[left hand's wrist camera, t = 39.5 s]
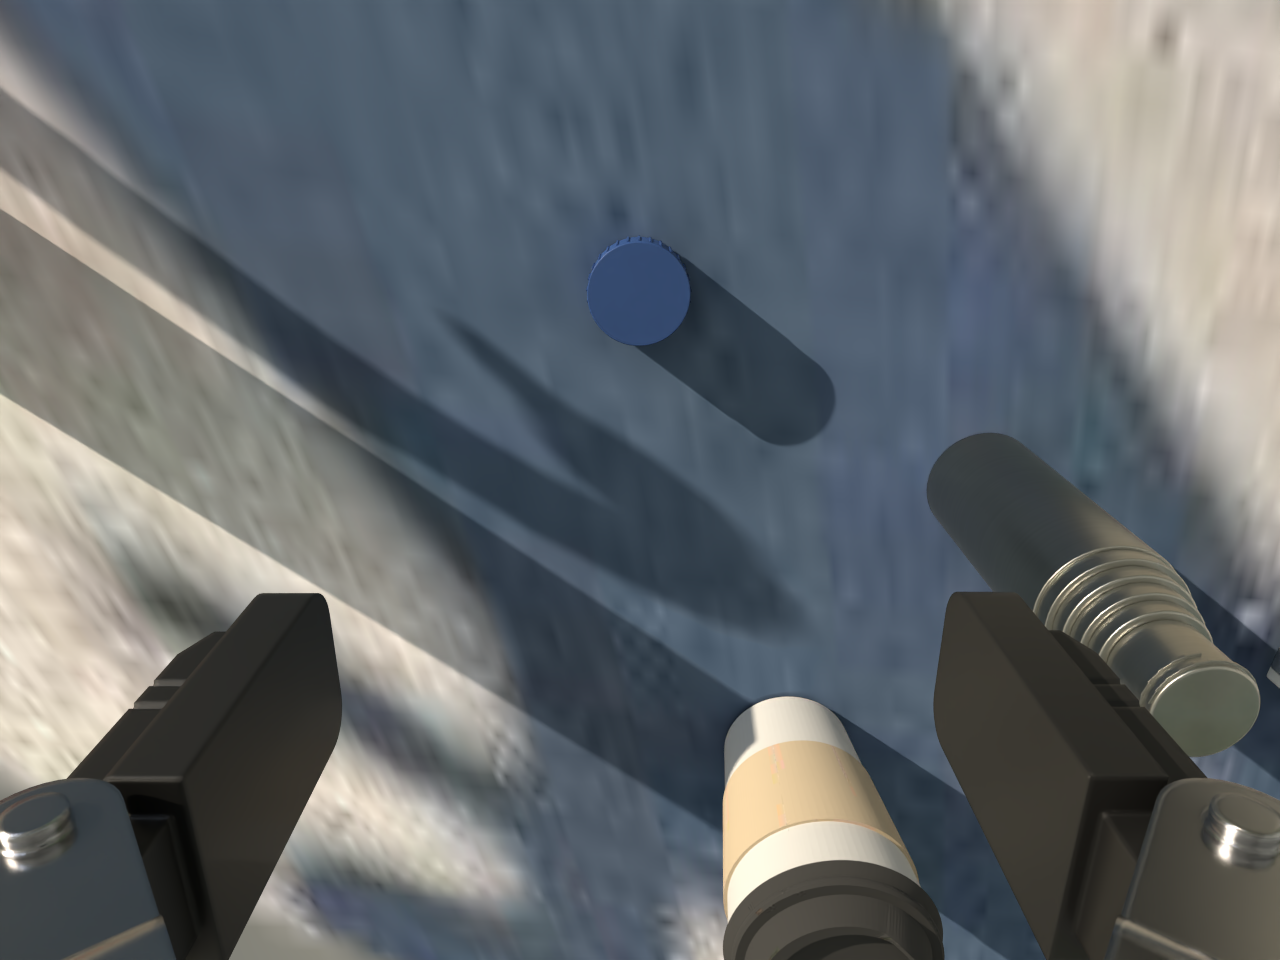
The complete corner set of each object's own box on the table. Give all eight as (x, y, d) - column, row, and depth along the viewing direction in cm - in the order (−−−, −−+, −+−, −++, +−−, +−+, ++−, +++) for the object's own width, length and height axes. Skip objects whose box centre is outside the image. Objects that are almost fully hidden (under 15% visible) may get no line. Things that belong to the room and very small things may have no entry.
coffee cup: (755, 839, 50) (799, 1109, 36) (671, 728, 48) (684, 974, 34) (898, 769, 49) (1001, 1025, 35) (819, 650, 46) (898, 875, 32)
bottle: (1056, 450, 42) (1335, 662, 25) (1007, 546, 44) (1238, 803, 27) (953, 419, 42) (1170, 614, 25) (909, 518, 43) (1081, 763, 26)
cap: (661, 216, 38) (661, 220, 36) (706, 308, 40) (709, 317, 38) (570, 265, 39) (566, 272, 37) (618, 354, 40) (617, 365, 39)
